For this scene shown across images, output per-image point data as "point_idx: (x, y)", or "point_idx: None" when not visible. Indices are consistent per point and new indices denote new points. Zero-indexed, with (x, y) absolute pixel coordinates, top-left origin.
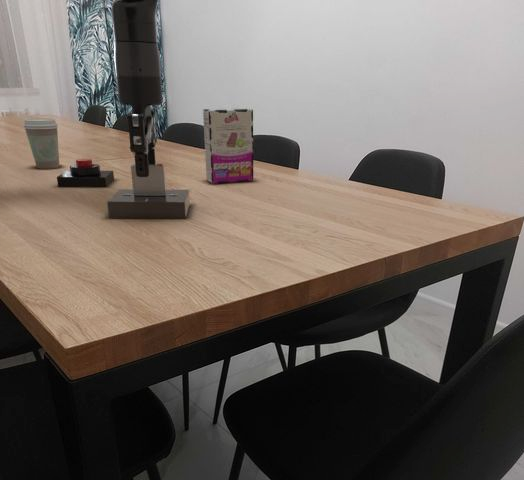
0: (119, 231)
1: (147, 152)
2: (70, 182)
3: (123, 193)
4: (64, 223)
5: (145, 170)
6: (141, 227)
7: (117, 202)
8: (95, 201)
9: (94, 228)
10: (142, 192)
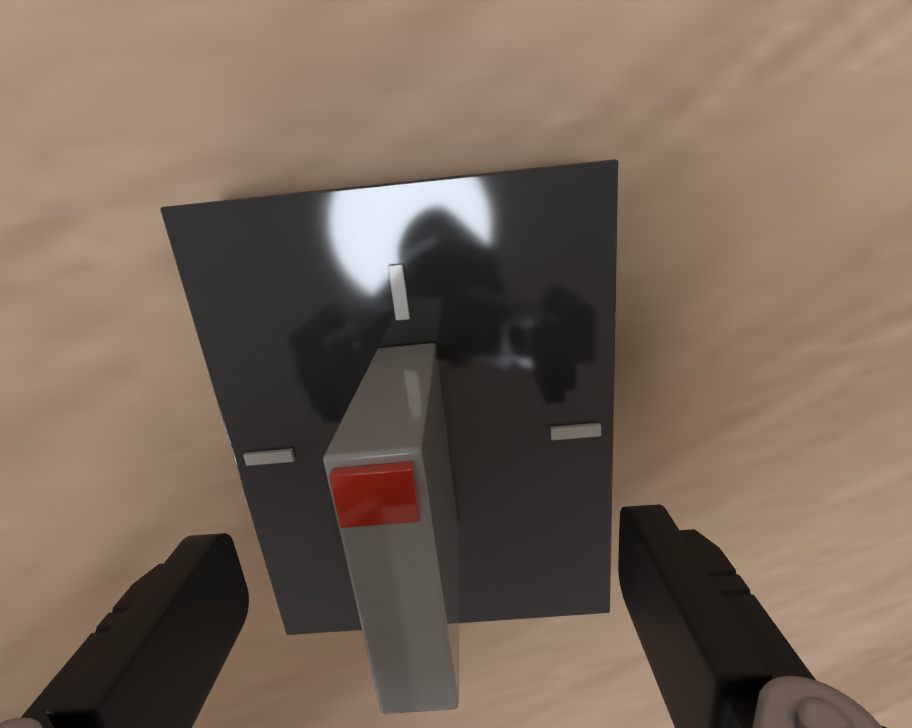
0: (825, 452)
1: (822, 705)
2: None
3: None
4: None
5: (715, 553)
6: (765, 374)
7: (609, 566)
8: (279, 673)
9: (758, 557)
10: (452, 493)
